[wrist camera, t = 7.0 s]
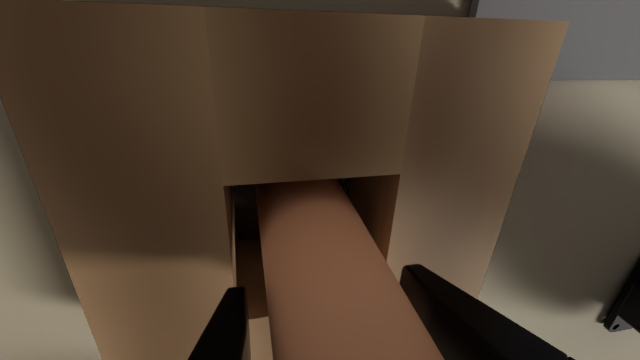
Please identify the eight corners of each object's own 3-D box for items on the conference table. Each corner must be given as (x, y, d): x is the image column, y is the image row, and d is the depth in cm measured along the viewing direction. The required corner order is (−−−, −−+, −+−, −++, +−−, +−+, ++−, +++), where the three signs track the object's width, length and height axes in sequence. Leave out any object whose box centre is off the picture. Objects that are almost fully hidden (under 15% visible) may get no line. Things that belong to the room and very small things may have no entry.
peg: (333, 144, 13) (548, 442, 4) (329, 211, 14) (482, 544, 5) (252, 147, 12) (295, 512, 3) (256, 217, 13) (294, 609, 5)
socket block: (468, 18, 11) (569, 21, 8) (412, 284, 17) (458, 356, 13) (69, 2, 9) (-39, -4, 5) (153, 321, 14) (126, 421, 11)
